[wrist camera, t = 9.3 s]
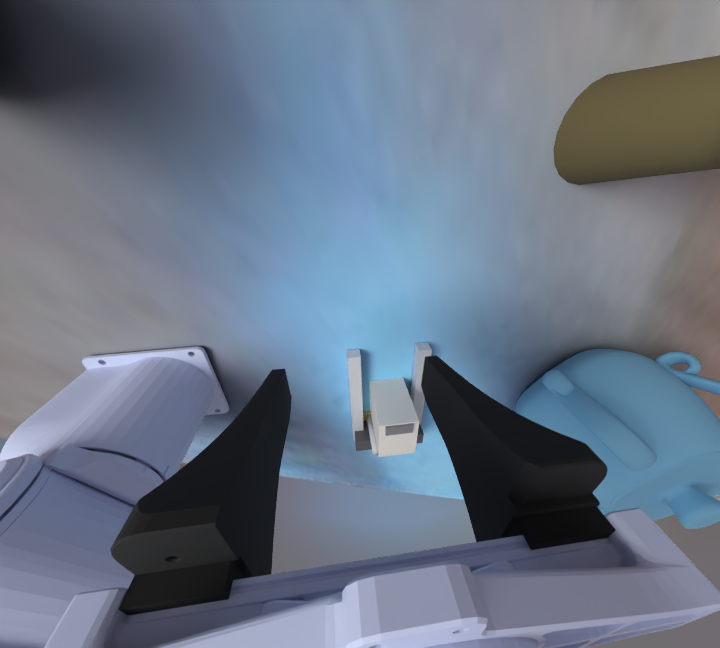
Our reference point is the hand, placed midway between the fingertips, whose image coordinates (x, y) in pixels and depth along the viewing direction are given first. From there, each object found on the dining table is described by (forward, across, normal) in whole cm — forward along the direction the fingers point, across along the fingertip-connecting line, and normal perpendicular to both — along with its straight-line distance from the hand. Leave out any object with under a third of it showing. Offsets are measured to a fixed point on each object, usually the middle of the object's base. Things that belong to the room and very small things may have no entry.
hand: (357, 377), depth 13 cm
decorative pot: (+10, -26, +14) cm, 31 cm away
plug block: (+10, -4, +12) cm, 15 cm away
